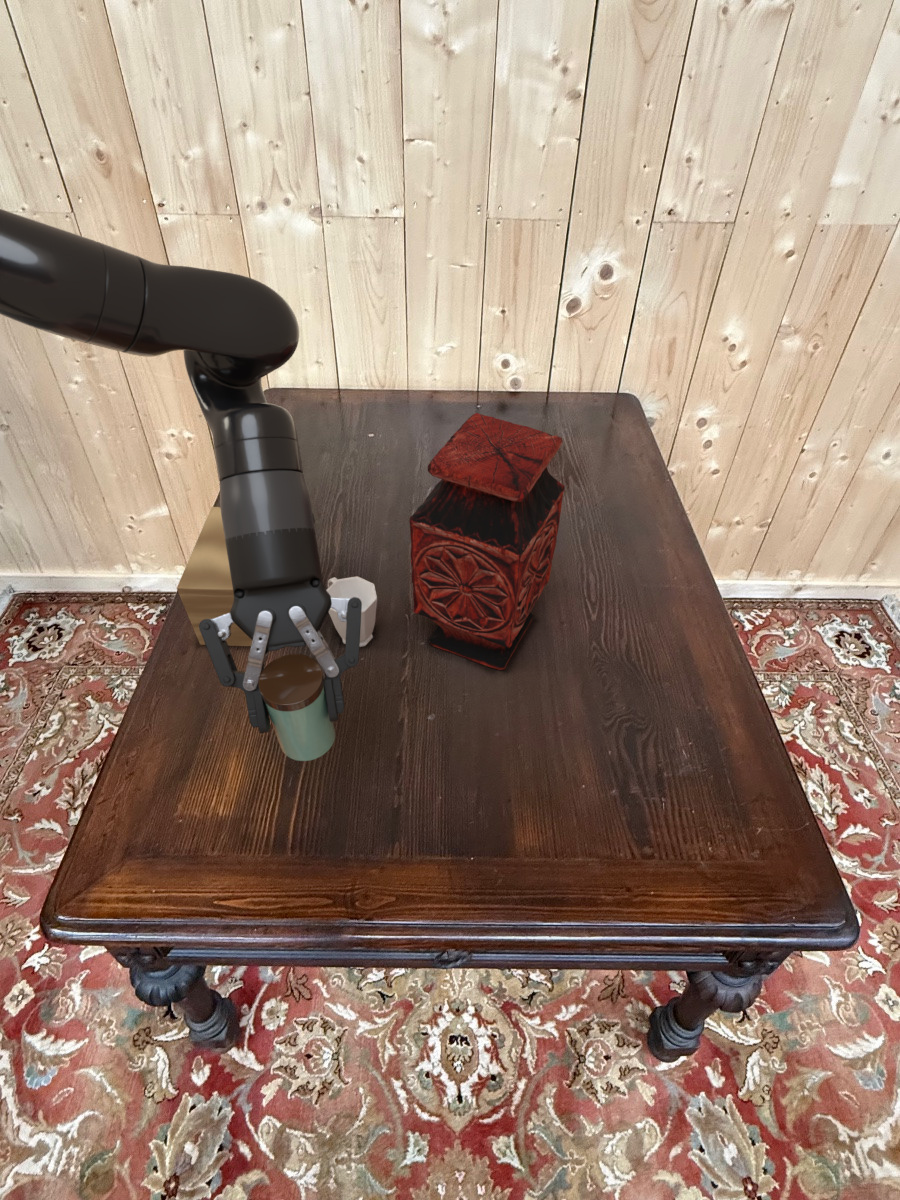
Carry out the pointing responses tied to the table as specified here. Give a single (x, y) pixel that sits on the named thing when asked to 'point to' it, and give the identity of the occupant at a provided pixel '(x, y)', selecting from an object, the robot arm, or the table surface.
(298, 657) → the jar
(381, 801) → the table surface
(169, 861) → the table surface
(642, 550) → the table surface
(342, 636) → the cup
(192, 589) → the shelf
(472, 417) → the red carved wooden box
